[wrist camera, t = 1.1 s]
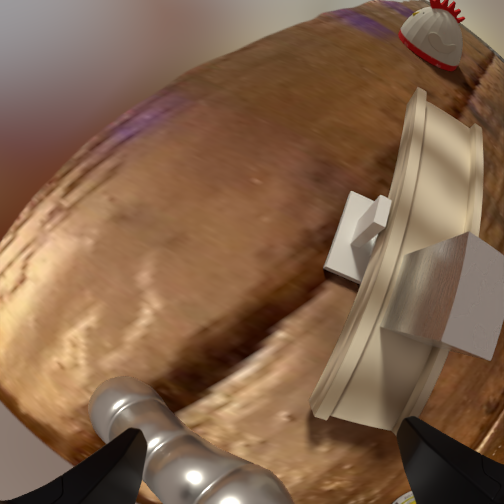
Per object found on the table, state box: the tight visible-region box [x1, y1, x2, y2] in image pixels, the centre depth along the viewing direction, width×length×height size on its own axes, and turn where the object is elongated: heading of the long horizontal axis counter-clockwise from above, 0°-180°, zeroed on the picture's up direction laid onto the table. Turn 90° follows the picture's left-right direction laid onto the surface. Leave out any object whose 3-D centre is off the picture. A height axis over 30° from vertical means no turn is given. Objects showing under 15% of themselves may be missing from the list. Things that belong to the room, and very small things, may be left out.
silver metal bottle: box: [88, 376, 294, 504], centre depth 13 cm, size 6×7×20 cm
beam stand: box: [323, 191, 392, 285], centre depth 21 cm, size 8×14×7 cm, turn 66°
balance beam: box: [308, 87, 483, 435], centre depth 20 cm, size 30×8×6 cm, turn 156°
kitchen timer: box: [398, 0, 465, 71], centre depth 28 cm, size 14×14×15 cm
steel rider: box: [380, 231, 504, 361], centre depth 14 cm, size 6×4×8 cm
